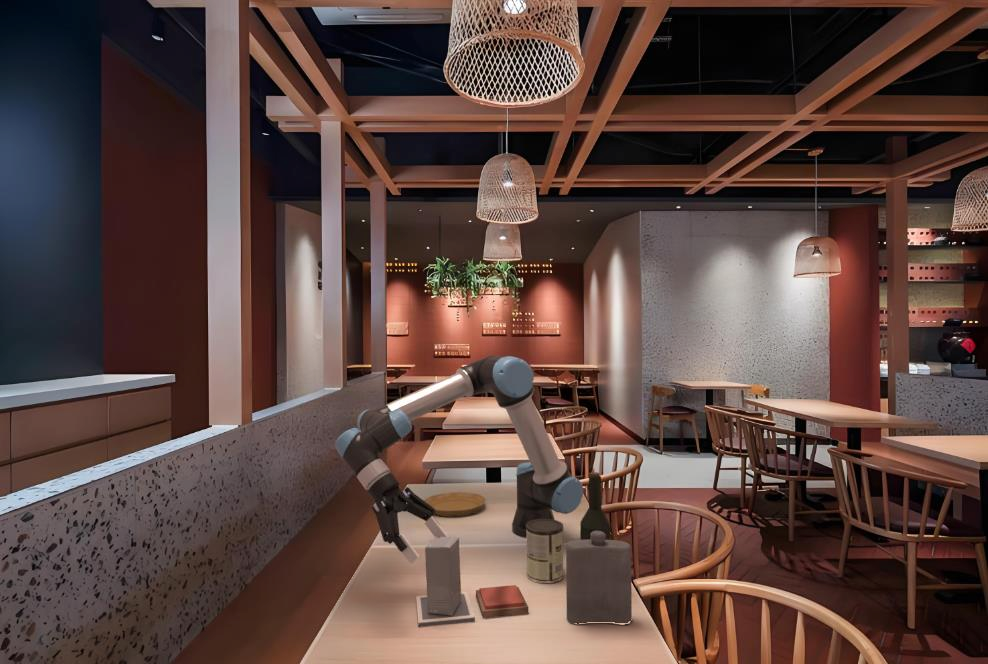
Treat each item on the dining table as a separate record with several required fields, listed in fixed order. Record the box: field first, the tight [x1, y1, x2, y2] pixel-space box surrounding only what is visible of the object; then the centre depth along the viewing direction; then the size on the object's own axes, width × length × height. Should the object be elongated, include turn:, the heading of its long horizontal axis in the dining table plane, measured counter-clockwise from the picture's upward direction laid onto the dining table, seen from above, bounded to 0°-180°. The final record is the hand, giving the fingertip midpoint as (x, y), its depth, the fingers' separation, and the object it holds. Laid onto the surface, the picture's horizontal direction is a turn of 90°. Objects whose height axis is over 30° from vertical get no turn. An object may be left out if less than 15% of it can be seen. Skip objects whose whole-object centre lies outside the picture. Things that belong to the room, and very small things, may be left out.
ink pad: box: [475, 584, 529, 619], centre depth 134 cm, size 11×11×2 cm
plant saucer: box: [423, 491, 487, 517], centre depth 212 cm, size 24×24×3 cm
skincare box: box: [424, 536, 462, 616], centre depth 132 cm, size 8×7×16 cm
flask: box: [565, 531, 633, 624], centre depth 128 cm, size 15×6×20 cm, turn 88°
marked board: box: [415, 591, 476, 628], centre depth 132 cm, size 13×13×1 cm
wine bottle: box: [579, 471, 612, 540], centre depth 143 cm, size 8×8×30 cm
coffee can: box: [525, 519, 565, 584], centre depth 151 cm, size 10×10×14 cm
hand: (430, 549), depth 133 cm, fingers open, 13 cm apart
